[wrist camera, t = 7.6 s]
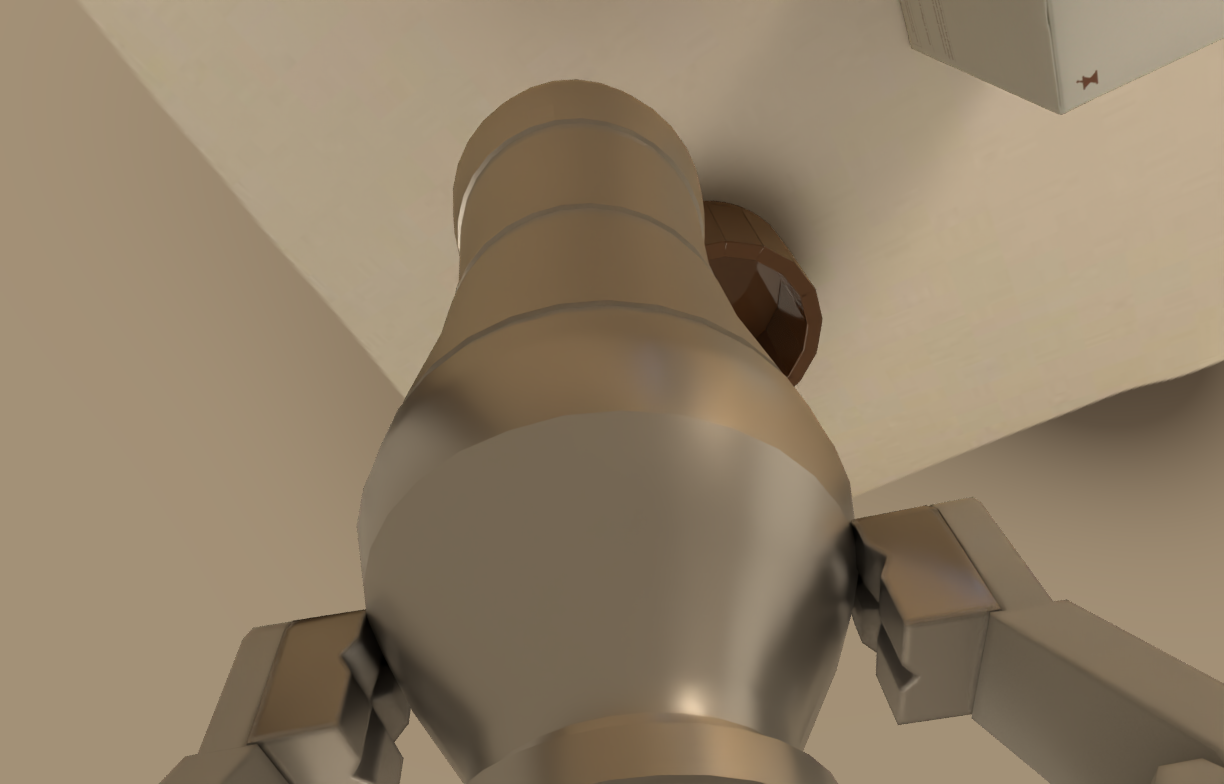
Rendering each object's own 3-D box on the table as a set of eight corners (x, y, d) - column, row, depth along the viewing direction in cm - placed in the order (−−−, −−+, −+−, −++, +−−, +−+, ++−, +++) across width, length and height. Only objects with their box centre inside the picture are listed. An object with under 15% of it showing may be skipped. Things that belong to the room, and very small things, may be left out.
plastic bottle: (550, 320, 25) (566, 1232, 8) (411, 144, 21) (-50, 1119, 5) (725, 215, 23) (1187, 1084, 7) (607, 5, 19) (961, 744, 3)
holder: (585, 223, 40) (591, 267, 35) (787, 181, 39) (820, 221, 35) (620, 386, 46) (629, 442, 41) (795, 351, 45) (824, 404, 41)
